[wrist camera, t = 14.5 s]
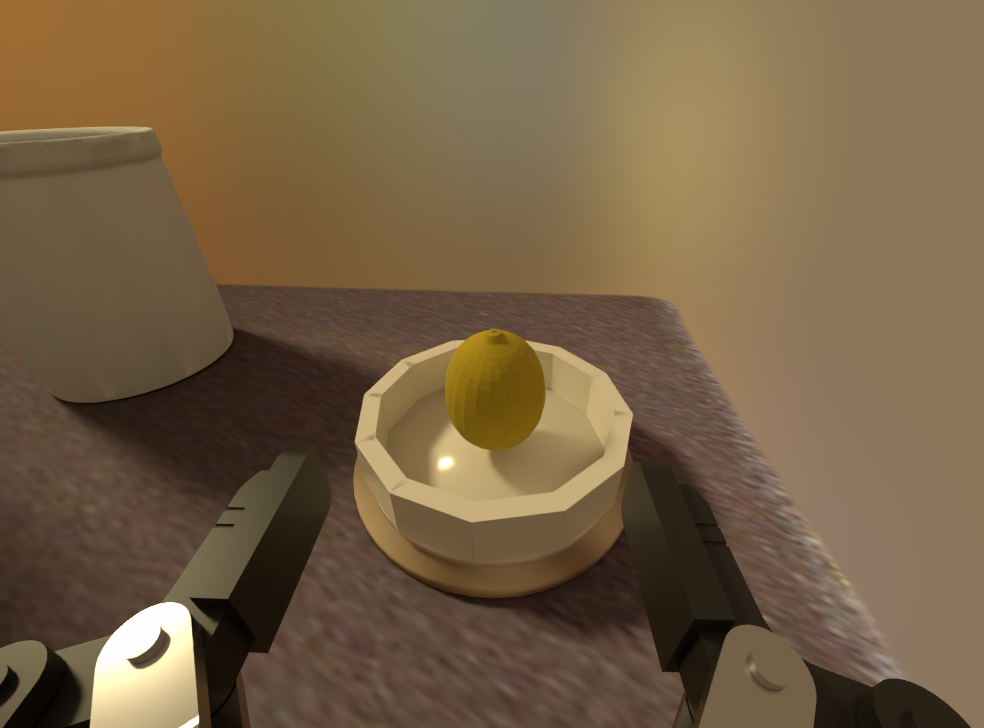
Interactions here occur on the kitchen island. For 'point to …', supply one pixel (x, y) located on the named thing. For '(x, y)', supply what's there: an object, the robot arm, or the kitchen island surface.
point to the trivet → (485, 578)
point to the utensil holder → (101, 265)
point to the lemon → (495, 390)
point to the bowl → (493, 463)
